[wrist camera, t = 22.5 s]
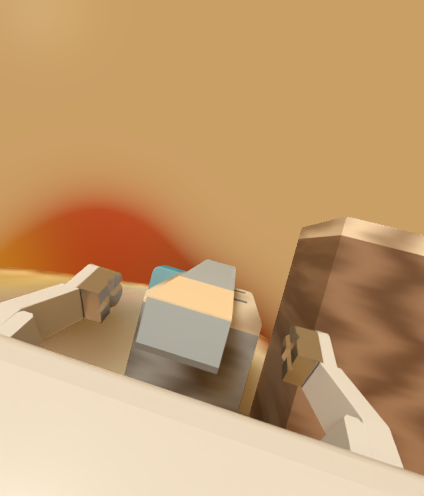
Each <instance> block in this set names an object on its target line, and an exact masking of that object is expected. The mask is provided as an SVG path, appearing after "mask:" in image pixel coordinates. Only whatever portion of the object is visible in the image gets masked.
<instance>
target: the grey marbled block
mask: <svg viewBox="0 0 424 496" xmlns="http://www.w3.org/2000/svg"><path fill="white" fill-rule="evenodd" d="M183 274H184V273H179V274H177V275H175V276H173V277H171V278H169V279H167V280H165V281H163V282H161V283H159V284H157V285H155V286H153V287H151V288H150V289H148V290H146V293H145V296H144V300H143V304H142V308H141V312H140V316H139V320H138V324H137V328H136V332H135V335H134V339H133V343H132V347H131V351H130V355H129V359H128V363H127V367H126V371H125V374H124V375H125V376H128V377H131V378H134V379H137V380H140V381H143V382H146V383H149V384H152V385H155V386H158V387H161V388H164V389H167V390H170V391H173V392H176V393H179V394H182V395H185V396H188V397H191V398H194V399H197V400H200V401H203V402H206V403H209V404H212V405H215V406H218V407H221V408H224V409H227V410H230V411H233V412H236V413H237V412H238V409H239V405H240V402H241V398H242V394H243V391H244V387H245V384H246V380H247V376H248V373H249V369H250V366H251V362H252V359H253V355H254V351H255V348H256V344H257V341H258V337H259V333H260V330H261V326H262V323H261V320H260V316H259V313H258V310H257V307H256V304H255V301H254V298H253V295H252V292H248V291H244V290H241V289H237V288H234V300H233V313H232V321H231V325H230V329H229V332H228V336H227V340H226V343H225V347H224V350H223V354H222V358H221V361H220V365H219V369H218V372H217V374H214V373H211V372H208V371H205V370H202V369H199V368H196V367H192V366H189V365H186V364H183V363H180V362H177V361H174V360H171V359H168V358H164V357H161V356H158V355H155V354H152V353H149V352H146V351H143V350H139V349H136V348H134V347H135V343H136V339H137V335H138V331H139V327H140V323H141V319H142V315H143V311H144V307H145V303H146V299H147V295H148V294H149V293H151V292H153V291H154V290H156V289H158V288H159V287H161V286H163V285H164V284H166V283H168V282H169V281H171V280H173V279H174V278H176V277H178V276H181V275H183Z"/></svg>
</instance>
